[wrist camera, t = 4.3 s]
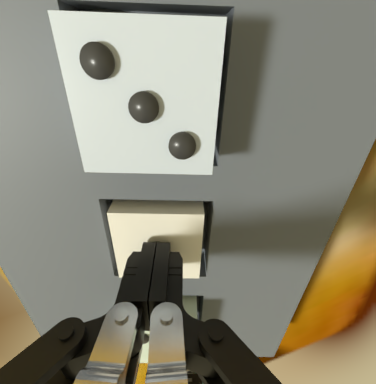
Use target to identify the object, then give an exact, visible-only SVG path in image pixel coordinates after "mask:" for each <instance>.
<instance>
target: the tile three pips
mask: <svg viewBox="0 0 376 384" xmlns="http://www.w3.org/2000/svg"><path fill="white" fill-rule="evenodd" d="M47 11H48V15H49V19H50V24H51V28H52V32H53V37H54V41H55V46H56V50H57V54H58V59H59V63H60V67H61V72H62V76H63V80H64V85H65V89H66V94H67V98H68V102H69V107H70V111H71V115H72V120H73V124H74V129H75V133H76V137H77V142H78V146H79V150H80V155H81V159H82V163H83V168H84V172H97V173H144V174H191V175H212V171H213V161H214V150H215V139H216V129H217V118H218V107H219V97H220V86H221V76H222V65H223V54H224V44H225V33H226V23H227V17H216V16H190V15H164V14H138V13H111V12H85V11H59V10H47Z"/></svg>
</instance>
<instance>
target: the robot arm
mask: <svg viewBox="0 0 376 384" xmlns="http://www.w3.org/2000/svg"><path fill="white" fill-rule="evenodd" d="M182 299H183V258H182V256H181V254H180V253H179V252H171V251H170V242H143V245H142V249H141V252H138V251H133V252H132V254H131V255H130V256H129V257H128V259H127V262H126V266H125V269H124V273H123V276H122V280H121V283H120V287H119V290H118V294H117V298H116V301H115V304H114V306H113V307H111V308H110V309H109V311H108V312H107V313H106V314H105V315H103V316H101V317H99V318H96V319H93V320H90V321H87V322H83V321H82V320H81V319H80V318H77V317H70V318H66V319H64V320H62V321H60V322H59V323H57V324H56V325H55V326H54V327H52V328H51V329H50V330H49V331H47V332H46V333H45V334H44V335H42V336H41V337H40V338H38V339H37V340H36V341H35V342H33V343H32V344H31V345H30V346H28V347H27V348H26V349H25V350H23V351H22V352H21V353H20V354H18V355H17V356H16V357H14V358H13V359H12V360H11V361H9V362H8V363H7V364H6V365H4V366H3V367H2V368H1V369H0V384H135V381H136V377H137V372H138V367H139V363H140V358H141V353H142V348H143V346H142V345H143V339H144V332H145V331H150V335H149V354H148V369H147V373H146V382H145V384H188V378H187V369H188V370H190V371H192V372H195V373H197V374H198V376H199V378H200V379H201V381H202V382H203V383H204V384H281V382H280V381H279V380H278V379H277V378H276V377H275V376H274V375H273V374H272V373H271V371H270V370H269V369H268V368H267V367H266V366H265V365H264V364H263V363H262V362H261V361H260V360H259V358H258V357H257V356H256V355H255V354H254V353H253V352H252V351H251V350H250V349H249V348H248V346H247V345H246V344H245V343H244V342H243V341H242V340H241V339H240V338H239V337H238V336H237V335H236V333H235V332H234V331H233V330H232V329H231V328H230V327H229V326H228V325H227V324H226V323H225V322H224V321H222V320H219V319H209V320H206V321H205V322H203V321H201V320H198V319H195V318H193V317H191V316H190V315H189V314H188V313H187V312H186V311H185V309H184V307H183V301H182Z"/></svg>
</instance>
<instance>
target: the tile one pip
mask: <svg viewBox="0 0 376 384" xmlns="http://www.w3.org/2000/svg"><path fill="white" fill-rule="evenodd" d="M204 216H205V214H204V206H203V201H178V200H124V199H113V201H112V203H111V205H110V207H109V209H108V211H107V217H108V222H109V227H110V233H111V238H112V243H113V248H114V253H115V258H116V264H117V269H118V274H119V278H122V276H123V273H124V269H125V266H126V262H127V259H128V257H129V256H130V255H131V254H132V252H133V251H138V252H141V249H142V245H143V242H170V251H171V252H179V253H180V254H181V256H182V258H183V278H199V276H200V264H201V252H202V240H203V228H204Z"/></svg>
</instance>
